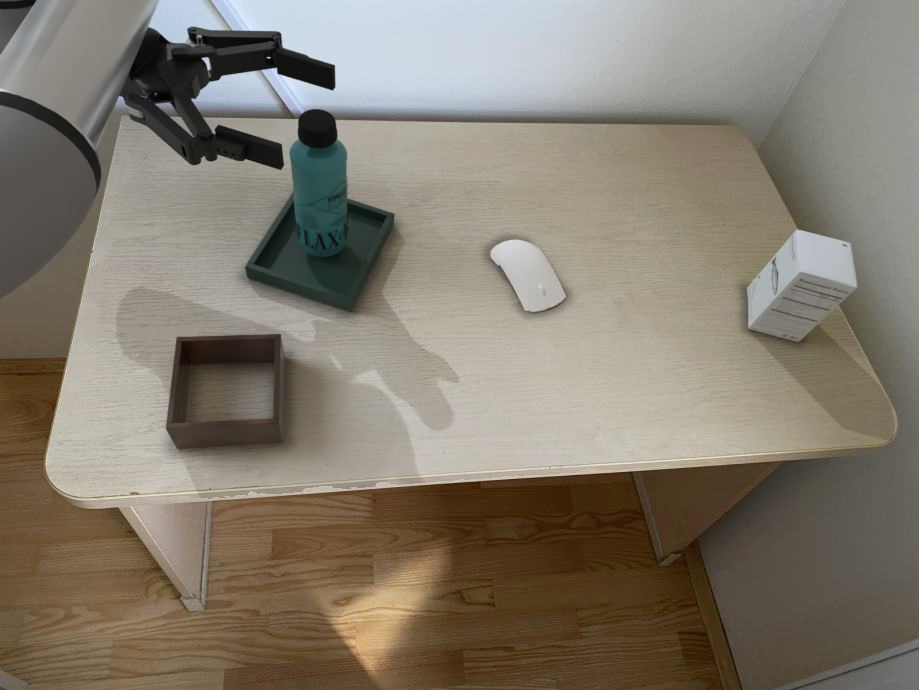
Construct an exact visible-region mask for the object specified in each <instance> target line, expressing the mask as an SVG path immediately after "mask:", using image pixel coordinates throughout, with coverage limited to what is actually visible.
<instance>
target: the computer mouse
mask: <svg viewBox="0 0 919 690" xmlns="http://www.w3.org/2000/svg"><path fill="white" fill-rule="evenodd" d="M489 253H490V255H489V256H490V259H491V260H492V261H493V262H494V263H495V264H496V265H497V267H499V266H500V267H501V269H502V271H503V273H504V274H505V276H506V277H507V280H508V281H509V282H510V284H511V286H512V288H513V289H514V291H515V293H516V296H517V297H518V300H519V302H520V304H521V306H522V308H523V310H524V311H526V312H529V313H537V312H538V313H539V312H542V311H546V310H548V309H550V308H553V307H556V306H557V305H559V304H560V303H562V302H563V301H564V300H565V299H566V298H567V295H566V293H565V291H564V289H563V286H562V284H561V282H560V280H559V278H558V276H557V274H556V273H555V270H554V269H553V267H552V265H551V263H550V261H549V260H548V259H547V257H546V256H545V254H544V252H543V251H542V250H541V248H539V247H538V246H536V245H535V244H533V243H531V242H528V241H526V240H522V239H509V240H505V241H502V242H500V243H498V244H496V245H495V246H494V247H492V249H491V250H490V252H489Z"/></svg>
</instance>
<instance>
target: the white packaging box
mask: <svg viewBox="0 0 919 690" xmlns="http://www.w3.org/2000/svg"><path fill="white" fill-rule="evenodd" d="M853 253H854V252H853V248H852V243H850V242H847V241H845V240H842V239H841V240H840V239H837V238H833V237H828V236H825V235H822V234H817V233H813V232H809V231H805V230H802V229H795V231H794V232H793V233H791V235H790V236H789V238H788V239H787V240H786V241H785V242H784V243H783V244H782V246H781V247H780V248H779V249H778V251H777V252H776V253H775V254H774V256H773V257H772V258H771V259H770V260H769V262H768V263H767V264H766V265H765V266H764V267H763V269H761V271H760V272H759V273H758V274H757V276H756V277H755V278H754V279H753V280H752V282H750V284H749V285H748V286H747V288H746V294H747V329H748V330H750V331H754V332H758V333H762V334H766V335H770V336H772V337H777V338H781V339H785V340H788V341H791V342H792V341H793V342H795V343H799V342H801V341H802V340H803V339H804V338H805V337H806V336H807V335H808V334H809V333H810V332H811V331H813V330H814V328H815V327H817V326H818V325H819V324H820V323H821V322H822V321H823V320H824V319H826V317H827V316H829V314H831V313H832V312H833V311H834V310H835V309H836V308H837V307H838V306H840V304H841V303H843V302H844V301H845V300H846V299H847V298H848V297H849V296H850V295H851V294H852V293H853V292H854V291H856V290H857V289H858V280H857V273H856V268H855V267H856V266H855V260H854V254H853Z"/></svg>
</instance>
